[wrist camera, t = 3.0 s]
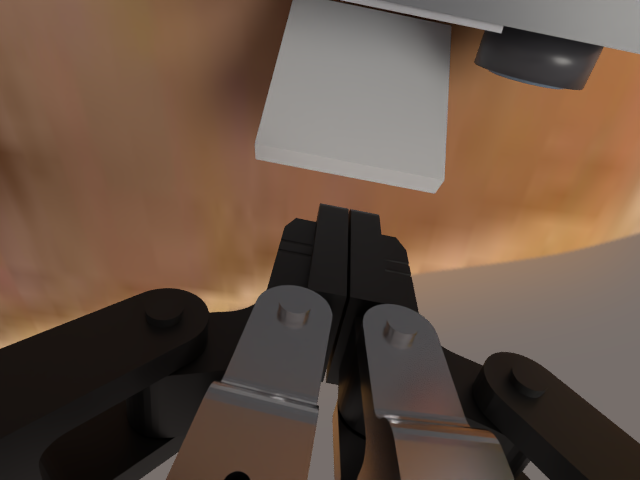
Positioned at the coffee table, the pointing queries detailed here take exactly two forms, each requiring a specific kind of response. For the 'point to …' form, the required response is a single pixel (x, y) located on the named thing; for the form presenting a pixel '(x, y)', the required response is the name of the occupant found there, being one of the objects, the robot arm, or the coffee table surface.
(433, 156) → the door
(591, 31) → the camera body
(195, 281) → the coffee table surface
